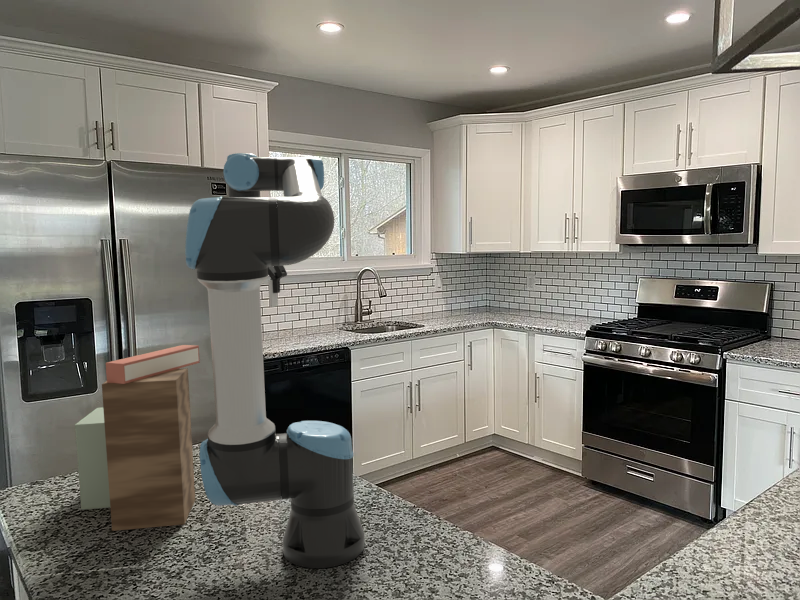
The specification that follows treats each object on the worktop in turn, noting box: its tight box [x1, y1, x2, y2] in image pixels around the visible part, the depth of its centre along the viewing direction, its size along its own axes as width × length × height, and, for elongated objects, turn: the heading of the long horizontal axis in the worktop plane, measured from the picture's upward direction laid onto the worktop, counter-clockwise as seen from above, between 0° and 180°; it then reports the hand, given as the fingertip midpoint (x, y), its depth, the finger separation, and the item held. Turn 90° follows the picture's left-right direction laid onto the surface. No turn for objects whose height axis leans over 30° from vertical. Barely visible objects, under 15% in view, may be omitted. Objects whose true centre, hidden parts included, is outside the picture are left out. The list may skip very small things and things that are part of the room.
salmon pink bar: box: [105, 344, 201, 384], centre depth 128 cm, size 22×4×4 cm, turn 159°
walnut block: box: [101, 367, 196, 532], centre depth 126 cm, size 12×14×30 cm
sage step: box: [74, 407, 110, 511], centre depth 138 cm, size 14×12×19 cm
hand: (249, 306), depth 147 cm, fingers open, 13 cm apart
